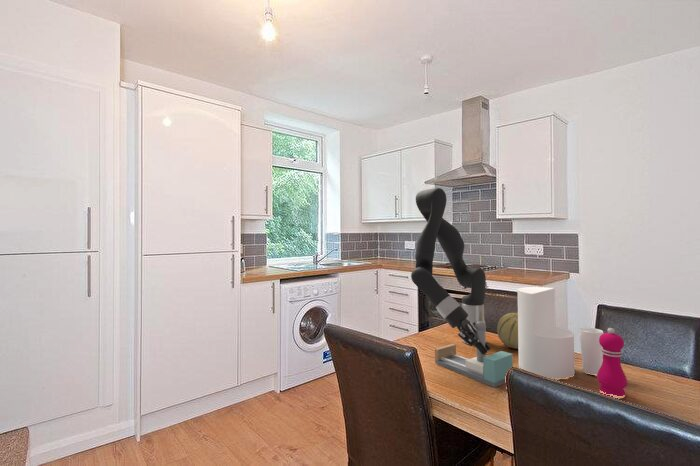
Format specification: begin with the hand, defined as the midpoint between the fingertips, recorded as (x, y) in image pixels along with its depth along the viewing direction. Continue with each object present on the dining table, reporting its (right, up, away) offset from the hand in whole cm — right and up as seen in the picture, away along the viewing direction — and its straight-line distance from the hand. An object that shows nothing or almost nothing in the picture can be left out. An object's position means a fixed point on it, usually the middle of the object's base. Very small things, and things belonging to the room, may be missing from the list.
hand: (487, 351), depth 118 cm
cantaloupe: (+23, -8, +28) cm, 37 cm away
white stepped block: (+23, -8, +5) cm, 25 cm away
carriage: (-2, -6, +1) cm, 6 cm away
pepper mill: (+32, -8, -15) cm, 36 cm away
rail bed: (-4, -8, +5) cm, 10 cm away
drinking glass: (+36, -8, 0) cm, 37 cm away
